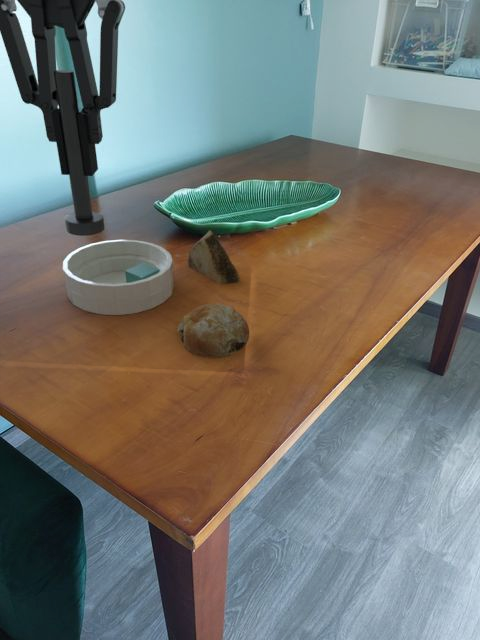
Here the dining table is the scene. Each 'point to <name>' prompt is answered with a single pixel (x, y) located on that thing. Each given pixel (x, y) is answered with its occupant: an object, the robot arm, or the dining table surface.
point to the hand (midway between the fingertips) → (80, 171)
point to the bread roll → (214, 331)
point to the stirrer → (75, 159)
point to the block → (140, 272)
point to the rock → (212, 260)
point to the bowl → (117, 277)
